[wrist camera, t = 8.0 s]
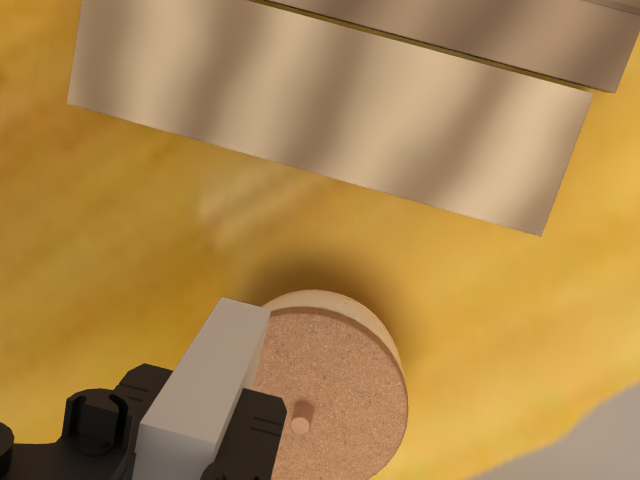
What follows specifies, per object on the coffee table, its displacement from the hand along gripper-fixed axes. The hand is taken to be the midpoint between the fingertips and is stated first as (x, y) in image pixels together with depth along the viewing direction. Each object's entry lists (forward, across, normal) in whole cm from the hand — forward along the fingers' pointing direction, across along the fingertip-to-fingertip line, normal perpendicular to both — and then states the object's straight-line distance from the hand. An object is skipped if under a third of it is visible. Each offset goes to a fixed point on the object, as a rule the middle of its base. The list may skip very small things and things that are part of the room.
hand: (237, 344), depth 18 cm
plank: (+20, -1, +6) cm, 21 cm away
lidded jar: (+20, +3, -9) cm, 22 cm away
